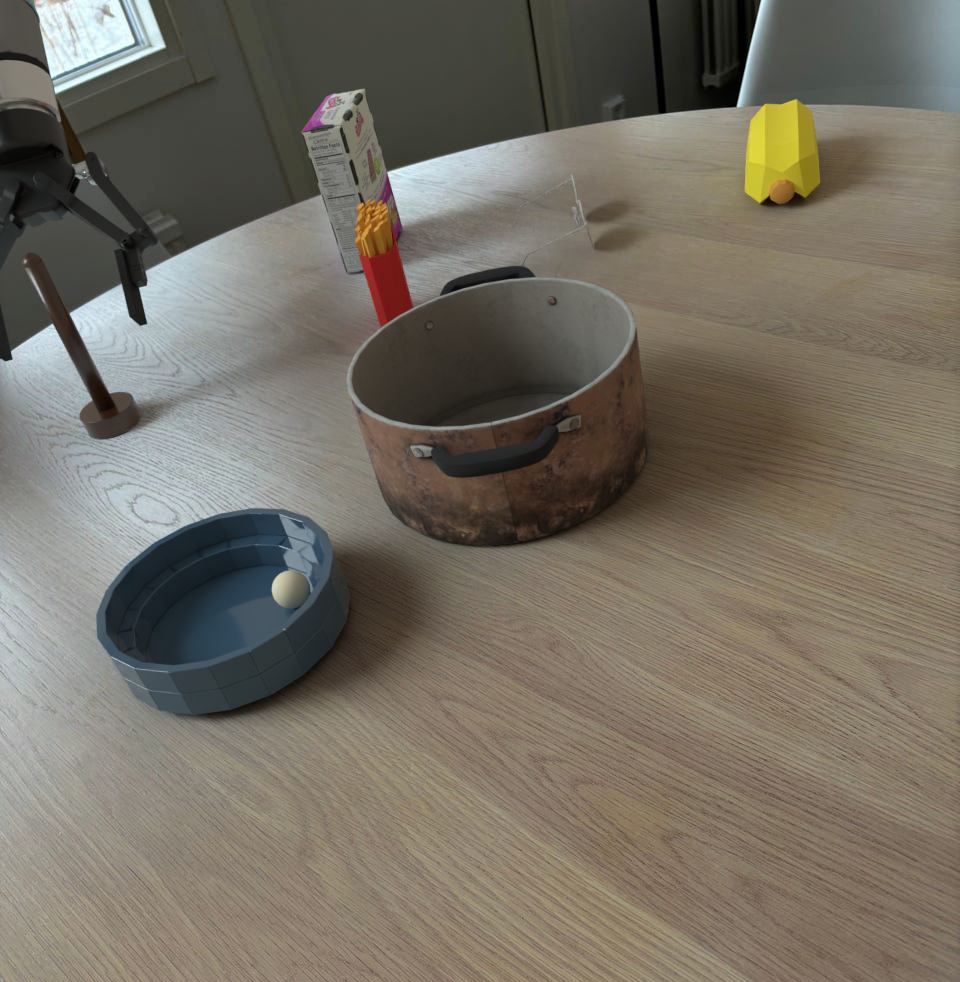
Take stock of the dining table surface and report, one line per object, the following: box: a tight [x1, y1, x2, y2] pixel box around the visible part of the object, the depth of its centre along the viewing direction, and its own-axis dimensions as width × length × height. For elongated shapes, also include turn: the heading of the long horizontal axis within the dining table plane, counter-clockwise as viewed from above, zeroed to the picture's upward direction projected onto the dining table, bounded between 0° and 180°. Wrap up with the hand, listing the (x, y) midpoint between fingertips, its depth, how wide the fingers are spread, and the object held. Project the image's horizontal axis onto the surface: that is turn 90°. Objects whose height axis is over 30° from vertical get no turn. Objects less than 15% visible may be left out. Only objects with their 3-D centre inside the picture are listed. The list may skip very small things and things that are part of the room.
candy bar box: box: [300, 88, 404, 275], centre depth 120 cm, size 11×5×16 cm, turn 171°
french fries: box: [355, 199, 414, 328], centre depth 106 cm, size 8×4×12 cm, turn 7°
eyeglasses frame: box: [511, 173, 596, 267], centre depth 116 cm, size 14×8×5 cm, turn 2°
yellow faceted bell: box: [744, 98, 821, 205], centre depth 114 cm, size 18×7×8 cm
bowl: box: [95, 507, 351, 716], centre depth 76 cm, size 17×17×5 cm
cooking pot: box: [346, 265, 649, 547], centre depth 83 cm, size 30×22×11 cm
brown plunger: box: [21, 252, 142, 440], centre depth 101 cm, size 6×6×18 cm
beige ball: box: [272, 570, 310, 609], centre depth 77 cm, size 3×3×3 cm
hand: (70, 338), depth 100 cm, fingers open, 13 cm apart
